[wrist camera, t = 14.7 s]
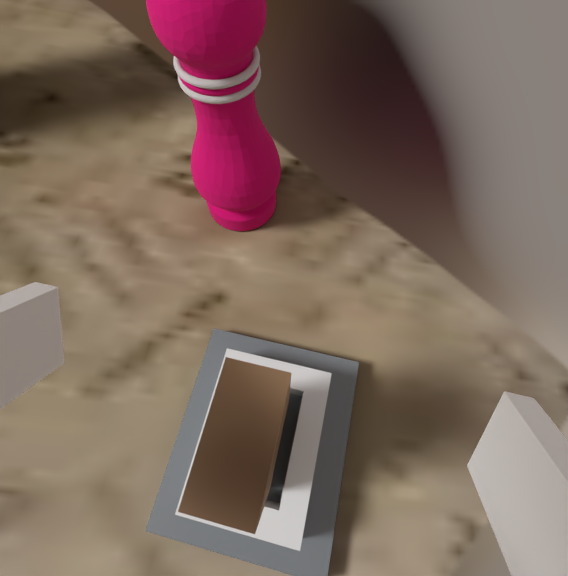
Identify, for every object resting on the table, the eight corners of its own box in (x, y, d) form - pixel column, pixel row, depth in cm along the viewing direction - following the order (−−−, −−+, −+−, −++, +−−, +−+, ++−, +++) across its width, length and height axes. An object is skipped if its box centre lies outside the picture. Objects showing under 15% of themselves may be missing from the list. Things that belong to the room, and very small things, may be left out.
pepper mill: (198, 234, 31) (69, -73, 12) (210, 172, 33) (120, -149, 15) (278, 238, 30) (269, -68, 12) (283, 175, 33) (281, -147, 15)
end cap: (216, 333, 27) (206, 317, 23) (355, 365, 26) (366, 353, 22) (152, 526, 22) (127, 541, 18) (324, 577, 20) (331, 604, 17)
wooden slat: (253, 396, 24) (225, 356, 13) (288, 405, 23) (291, 372, 12) (232, 476, 22) (177, 511, 11) (270, 487, 21) (254, 534, 10)
